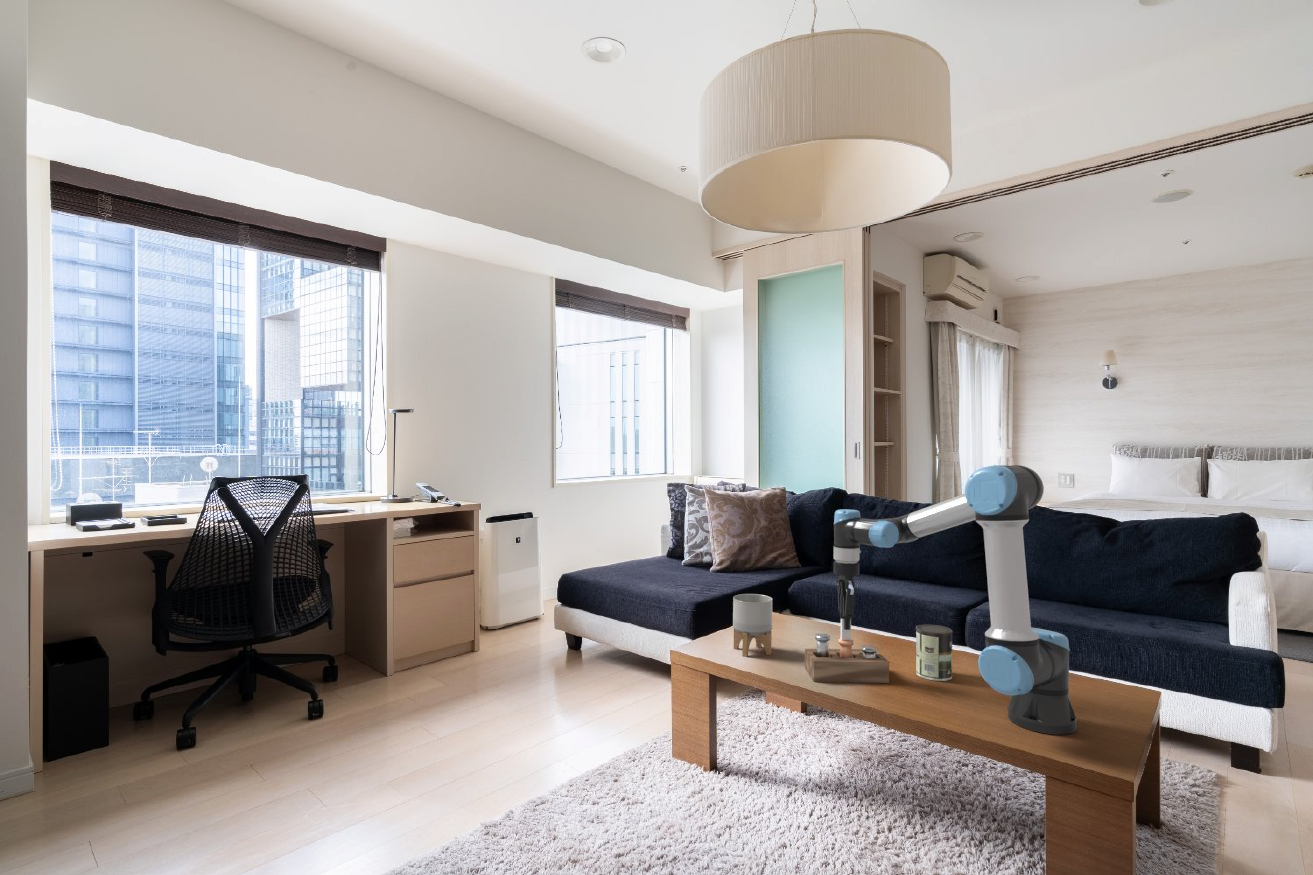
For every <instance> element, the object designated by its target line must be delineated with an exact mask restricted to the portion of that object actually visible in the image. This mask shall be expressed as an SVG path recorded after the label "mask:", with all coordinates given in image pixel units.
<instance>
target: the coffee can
mask: <svg viewBox="0 0 1313 875" xmlns="http://www.w3.org/2000/svg"><path fill="white" fill-rule="evenodd" d="M915 631H916V632H915V634H916V636H915V637H916V638H915V639H916V640H915V648H916V649H915V650H916V653H915V654H916V656H915V664H916V665H915V669H916V670H915V674H916V676H918V677H920V678H921V679H924V680H929V681H934V682H935V681H936V682H947V681H951V680H952V679H953V632H954V631H953V630H952V629H951V628H949V627H947V626H944V625H938V624H927V623H926V624H918V625H916V626H915Z"/></svg>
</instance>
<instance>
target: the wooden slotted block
mask: <svg viewBox="0 0 1313 875" xmlns="http://www.w3.org/2000/svg"><path fill="white" fill-rule="evenodd" d="M804 670H805V671H806V673H807V674H808V676H809V677H810V678H811V680H812V681H813V682H814V683H888V684H889V683H890V661H888V659H887V658H886V657H884V656H883V654H881V653H880V652H879V651H878V650H877V653H875V658H863V652H862V651H861V648H859V649H858V648H852V658H840V648H828V658H827V657H817V648H804Z"/></svg>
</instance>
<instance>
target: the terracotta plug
mask: <svg viewBox="0 0 1313 875" xmlns="http://www.w3.org/2000/svg"><path fill="white" fill-rule="evenodd" d="M837 640H838V642H837V643H838V644H839V649H840V658H852V649H853V646H854V644H855V642H854V640H853V639H852V638H851V640H841V639H840V638H838V639H837Z"/></svg>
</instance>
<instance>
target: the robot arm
mask: <svg viewBox="0 0 1313 875" xmlns="http://www.w3.org/2000/svg"><path fill="white" fill-rule="evenodd" d="M1043 495H1044V483H1043V480H1042V479H1041V476H1040V475H1039V474H1038V473H1037V472H1036V471H1034V470H1033V469H1031V468H1029V467H1027V466H1025V465H1020V464H1019V465H1018V464H1017V465H1016V464H1015V465H1000V464H999V465H996V464H994V465H989V466H983V467H981V468H978V469H976V470H975V471H974V472H973V473H971V475H970V476H969V477H968V479H967V481H966V483H965V487H964V493H963V494H960V495H957V496H954V497H951V498H948V499H946V500H943V501H941V502H940V501H939V502H938V503H935V504H932V505H930V506H927V507H924V508H921V509H919V510H914V511H913V512H910V513H907V514H904V515H902V516H898V517H891V518H881V519H871V518H864V517H863V518H862V517H861V512H860V511H859V510H857V509H850V508H849V509H846V508H845V509H841V508H840V509H837V510H835V512H834V516H833V518H834V519H833V520H834V522H833V532H834V533H833V538H834V540H833V560H834V561H833V573H834V574H835V575H837V576H839V579H837V580H836V586H837V604H838V613H839V615H840V616H839V617H840V638H839V639H841V640H851V639H852V619H854V616H855V604H856V596H857V588H855V587H856V585H855V581H854V577H857V576H858V575H859V574H860V563H859V561H860V554H861V553H862V550H861V549H860V548H861V547H860V546H861V545H866V546H873V547H878V548H880V549H881V548H889V549H890V548H893V547H894V545H896V544H902V543H903V544H904V543H905V544H908V543H911V542H912V543H913V542H914V541H917V540H918V539H919V538H923V537H926V536H928V535H932V534H935V533H938V532H941V531H945V530H948V529H950V528H953V527H954V528H955V527H957V526H960V525H964V524H966V523H969V522H972V521H975V522H976V523H977V524H978V525H979V526H981V528H982V529H983V530H982V531H983V542H984V552H985V565H986V566H985V568H986V577H987V593H988V604H989V614H990V615H989V616H990V617H989V619H990V627H989V628H988V629H987V630H986V631H984V639H985V641H984V642H985V648H984V649H983V650H982V651H981V652H980V654H979V656H978V660H977V666H978V671H979V672H980V675H981V677H982V679H983V680H984V682H986V683H987V685H989V687H990V688H992V689H993V690H994V691H996V692H998V693H1000V694H1002V695H1005V696H1011V698H1010V700H1009V703H1008V705H1007V719H1009V720H1010V721H1011V722H1012V723H1013V724H1015V725H1017V726H1019V727H1022V728H1023V729H1027V730H1029V731H1034V732H1038V733H1042V734H1049V735H1058V736H1059V735H1070V734H1073V733H1075V732H1076V731H1077V729H1078V726H1077V725H1078V719H1077V716H1076V713H1075V710H1074V707H1073V705H1072V701H1071V699H1070V693H1069V690H1070V689H1069V688H1070V686H1069V685H1070V684H1069V683H1070V682H1069V680H1070V676H1069V675H1070V652H1071V649H1070V646H1069V645H1070V644H1069V638H1068V637H1067V636H1066V635H1065V634H1063V633H1061V632H1057V631H1053V630H1048V629H1042V628H1039V627H1037V628H1036V627H1032V625H1031V624H1032V622H1031V611H1030V610H1031V609H1030V601H1029V588H1028V578H1027V577H1028V576H1027V563H1026V555H1025V554H1026V553H1025V540H1024V529H1023V527H1024V526H1025V525H1026V524H1028V522H1029V521H1030V517H1029V516H1030V515H1029V510H1031V509H1033V508H1034V507H1036V506H1037V505H1038V504H1039V503H1040V502H1041V500H1042V498H1043V497H1044V496H1043ZM859 576H860V575H859Z"/></svg>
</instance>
